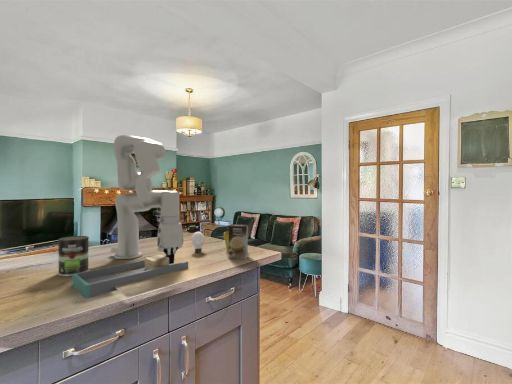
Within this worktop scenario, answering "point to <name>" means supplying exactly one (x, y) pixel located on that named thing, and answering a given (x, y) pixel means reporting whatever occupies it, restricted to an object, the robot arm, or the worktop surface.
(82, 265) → the coffee can
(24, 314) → the worktop surface
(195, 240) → the light bulb
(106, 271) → the box
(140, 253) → the robot arm
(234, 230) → the coffee box
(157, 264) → the maple block
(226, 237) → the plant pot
